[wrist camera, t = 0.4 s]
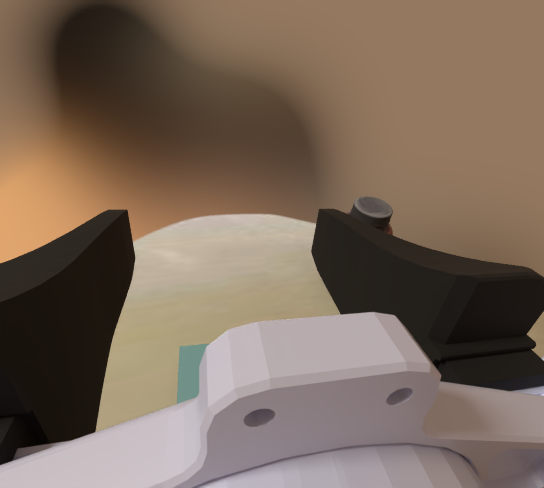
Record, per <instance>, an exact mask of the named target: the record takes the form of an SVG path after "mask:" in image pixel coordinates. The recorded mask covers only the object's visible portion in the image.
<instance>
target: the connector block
mask: <svg viewBox="0 0 544 488" xmlns="http://www.w3.org/2000/svg"><path fill="white" fill-rule="evenodd" d="M208 345H209V344H201V345H191V346H180V351H179V372H178V392H177V404H178V403H181V402H184V401H187V400H190V399H193V398H195V397H197V396H198V395H199V366H200V363H201V360H202V357H203V355H204V352H205V349H206V347H207V346H208Z"/></svg>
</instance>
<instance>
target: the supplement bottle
mask: <svg viewBox="0 0 544 488" xmlns="http://www.w3.org/2000/svg"><path fill="white" fill-rule="evenodd" d="M392 213H393V210H392V208H391V206H390V205H389V204H388V203H386V202H385V201H383V200H381V199H378V198H375V197H368V196H365V197H360V198H357V199H356V200H355V202H354V205H353V208H352V210H351V211H350V212H347V213H346V214H348V215H350V216H352V217H354V218H356V219H358V220H360V221H362V222H364V223H366V224H368V225H370V226H373V227H375V228H377V229H379V230H381V231H383V232H386V233H388V234H390V235H393V232H392V228H391V226H390V224H389V222H390V218H391V216H392Z"/></svg>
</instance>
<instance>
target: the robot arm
mask: <svg viewBox="0 0 544 488" xmlns="http://www.w3.org/2000/svg"><path fill="white" fill-rule="evenodd" d="M311 252H312V255H313V259H314V262H315V265H316V267H317V270H318V272H319V274H320V276H321V278H322V280H323V282H324V284H325V286H326V288H327V289H328V291H329V293H330V295H331V297H332V299H333V301H334V302H335V304H336V306H337V308H338V310H339V312H340V314H341V315H331V316H319V317H307V318H295V319H283V320H271V321H259V322H253V323H250V324H246V325H242V326H239V327H235V328H231V329H229V330H227V331H226V332H225V333H223V334H222V335H221V336H219V337H218V338H217V339H216V340H214V341H213V342H212V343H210V344H209V345H208V346H207V347H206V349H205V352H204V355H203V357H202V360H201V363H200V366H199V395H198V396H197V397H195V398H193V399H190V400H187V401H184V402H181V403H178V404H175V405H172V406H170V407H167V408H164V409H161V410H158V411H155V412H152V413H149V414H146V415H144V416H141V417H138V418H135V419H132V420H129V421H126V422H123V423H121V424H118V425H115V426H112V427H109V428H106V429H103V430H100V431H98V432H95V430H96V424H97V418H98V412H99V406H100V400H101V394H102V388H103V383H104V377H105V372H106V367H107V362H108V357H109V352H110V347H111V343H112V339H113V335H114V332H115V328H116V325H117V322H118V319H119V317H120V314H121V311H122V308H123V305H124V302H125V299H126V296H127V293H128V290H129V287H130V284H131V281H132V275H133V270H134V263H135V253H134V247H133V241H132V235H131V229H130V223H129V217H128V211H127V210H107V211H105V212H103V213H101V214H99V215H97V216H96V217H94V218H92V219H91V220H89V221H87V222H86V223H84V224H82V225H80V226H79V227H77V228H75V229H74V230H72V231H70V232H69V233H67V234H65V235H63V236H61V237H59V238H57V239H55V240H53V241H52V242H50V243H48V244H46V245H44V246H42V247H40V248H38V249H35V250H33V251H31V252H29V253H26V254H24V255H21V256H19V257H17V258H14V259H12V260H9V261H6V262H3V263H1V264H0V488H544V357H542V358H540V357H539V356H538V355H537V354H536V353H535V352H533V351H532V350H531V349H534V348H535V346H536V343H535V341H533V340H532V339H531V338H530V337H529V336H528V335H527V333H528V332H529V330H530V329H531V327H532V326H533V325H534V323H535V322H536V321H537V319H538V318H539V316H540V315H541V314H542V312H543V311H544V277H543V276H541V275H539V274H538V273H537V272H535V271H534V270H532V269H530V268H527V267H523V266H515V265H508V264H500V263H493V262H486V261H480V260H475V259H470V258H464V257H460V256H456V255H451V254H447V253H444V252H440V251H436V250H432V249H429V248H425V247H422V246H419V245H416V244H414V243H411V242H408V241H405V240H402V239H400V238H397V237H395V236H393V235H390V234H388V233H386V232H383V231H381V230H379V229H377V228H375V227H373V226H370V225H368V224H366V223H364V222H362V221H360V220H358V219H356V218H354V217H352V216H350V215H348V214H346V213H344V212H341V211H339V210H335V209H319V213H318V218H317V223H316V229H315V234H314V240H313V245H312V250H311Z"/></svg>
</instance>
